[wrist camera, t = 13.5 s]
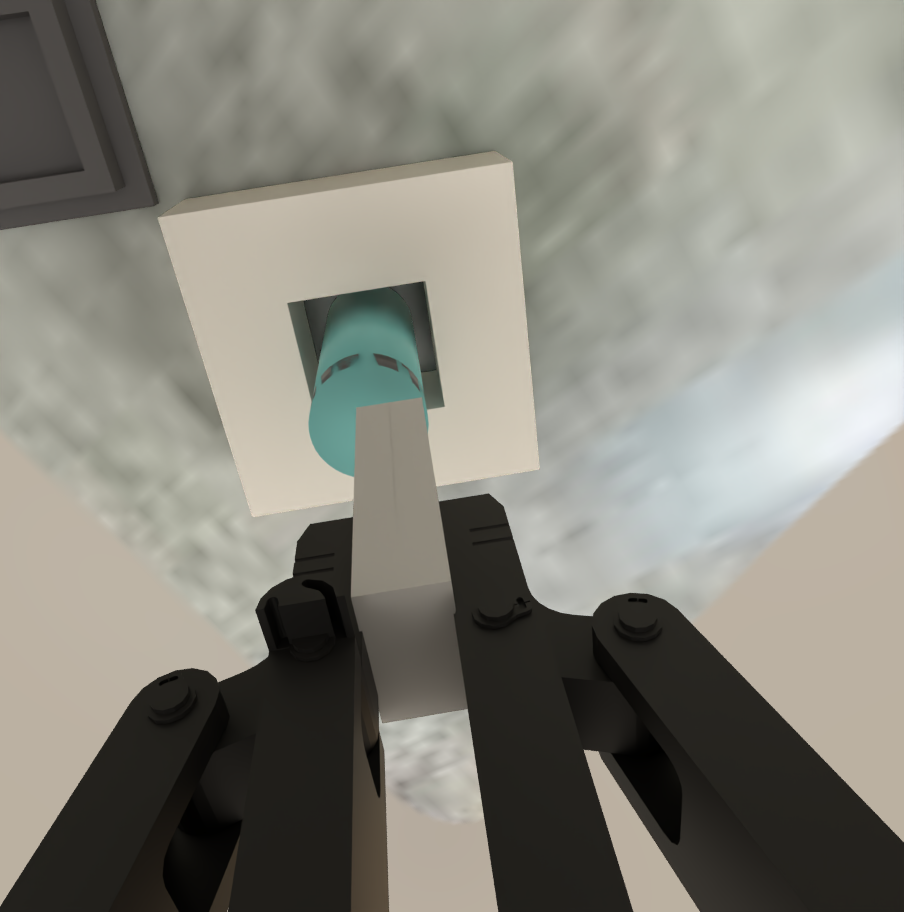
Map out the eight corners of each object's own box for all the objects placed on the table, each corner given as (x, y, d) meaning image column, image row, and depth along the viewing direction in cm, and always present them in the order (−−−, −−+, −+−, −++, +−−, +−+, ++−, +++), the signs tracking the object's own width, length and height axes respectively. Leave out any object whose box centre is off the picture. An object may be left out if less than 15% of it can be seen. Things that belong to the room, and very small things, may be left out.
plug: (318, 290, 30) (295, 381, 21) (405, 276, 30) (418, 361, 21) (336, 371, 32) (323, 487, 23) (418, 358, 32) (436, 468, 23)
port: (184, 199, 28) (157, 217, 24) (494, 150, 28) (512, 162, 24) (264, 470, 33) (252, 517, 30) (522, 427, 34) (539, 469, 30)
